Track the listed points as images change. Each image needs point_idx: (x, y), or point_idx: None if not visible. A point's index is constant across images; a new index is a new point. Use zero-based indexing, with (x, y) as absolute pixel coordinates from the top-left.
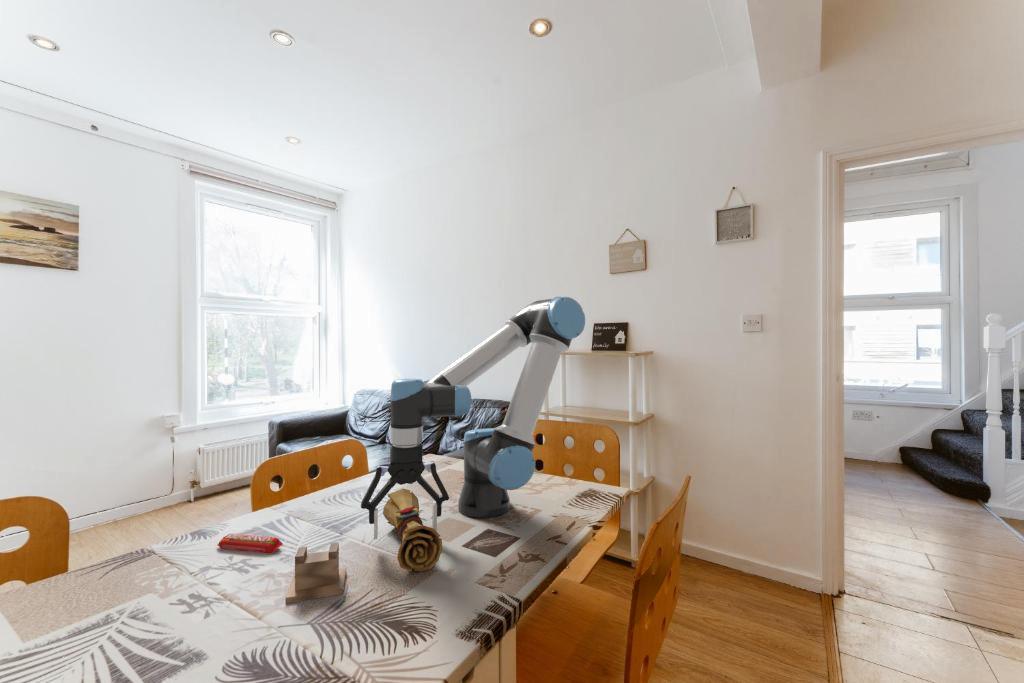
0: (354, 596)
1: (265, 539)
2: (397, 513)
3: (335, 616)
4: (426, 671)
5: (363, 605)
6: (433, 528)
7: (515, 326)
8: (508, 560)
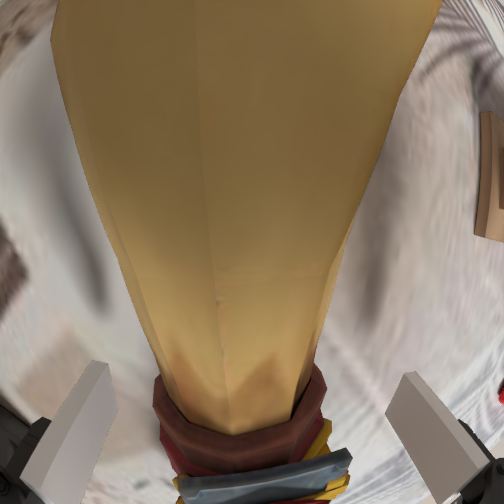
0: (456, 79)
1: None
2: (330, 499)
3: (471, 36)
4: None
5: None
6: (103, 383)
7: None
8: None
